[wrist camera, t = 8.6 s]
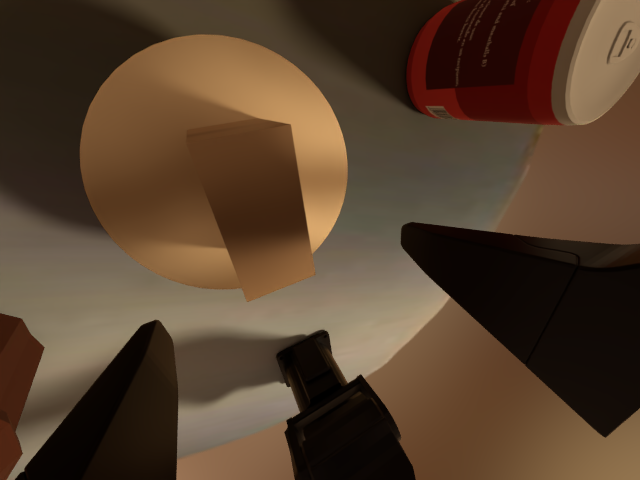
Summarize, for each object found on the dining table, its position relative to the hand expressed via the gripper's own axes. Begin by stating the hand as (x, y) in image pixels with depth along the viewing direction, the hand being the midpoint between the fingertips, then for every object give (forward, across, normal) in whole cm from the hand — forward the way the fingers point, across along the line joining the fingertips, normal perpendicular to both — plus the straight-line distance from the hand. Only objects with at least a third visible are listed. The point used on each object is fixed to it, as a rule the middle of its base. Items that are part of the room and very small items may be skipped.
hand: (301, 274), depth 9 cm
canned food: (+12, -18, -6) cm, 23 cm away
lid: (+7, +1, -2) cm, 7 cm away
